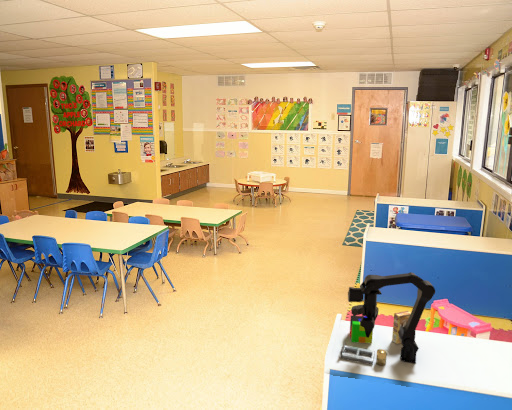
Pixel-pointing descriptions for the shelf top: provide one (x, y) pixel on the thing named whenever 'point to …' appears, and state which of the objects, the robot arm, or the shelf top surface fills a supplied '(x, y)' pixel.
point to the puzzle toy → (358, 331)
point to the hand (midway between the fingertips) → (368, 332)
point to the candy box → (399, 324)
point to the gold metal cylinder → (381, 357)
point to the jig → (357, 357)
